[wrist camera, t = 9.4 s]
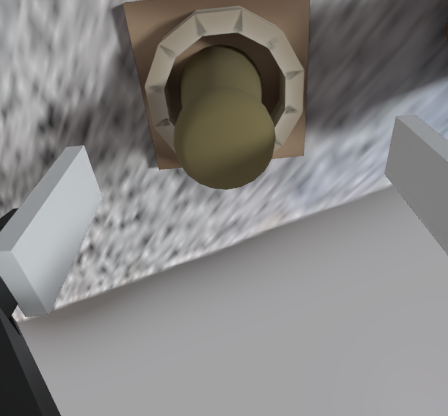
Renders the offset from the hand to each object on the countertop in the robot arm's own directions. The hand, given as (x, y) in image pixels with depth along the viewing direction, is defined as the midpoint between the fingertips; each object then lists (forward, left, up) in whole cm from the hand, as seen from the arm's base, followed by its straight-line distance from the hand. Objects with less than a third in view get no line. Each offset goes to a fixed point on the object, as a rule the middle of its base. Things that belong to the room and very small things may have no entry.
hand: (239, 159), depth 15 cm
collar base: (0, 0, -13) cm, 13 cm away
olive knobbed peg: (0, -1, -13) cm, 13 cm away
